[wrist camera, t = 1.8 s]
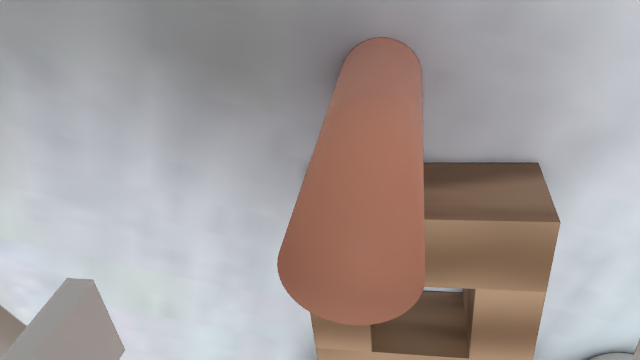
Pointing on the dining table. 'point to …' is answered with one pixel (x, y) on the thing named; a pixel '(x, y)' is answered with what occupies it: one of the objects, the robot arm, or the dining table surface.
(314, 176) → the dowel
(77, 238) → the dining table surface
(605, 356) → the cup
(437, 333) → the socket block
